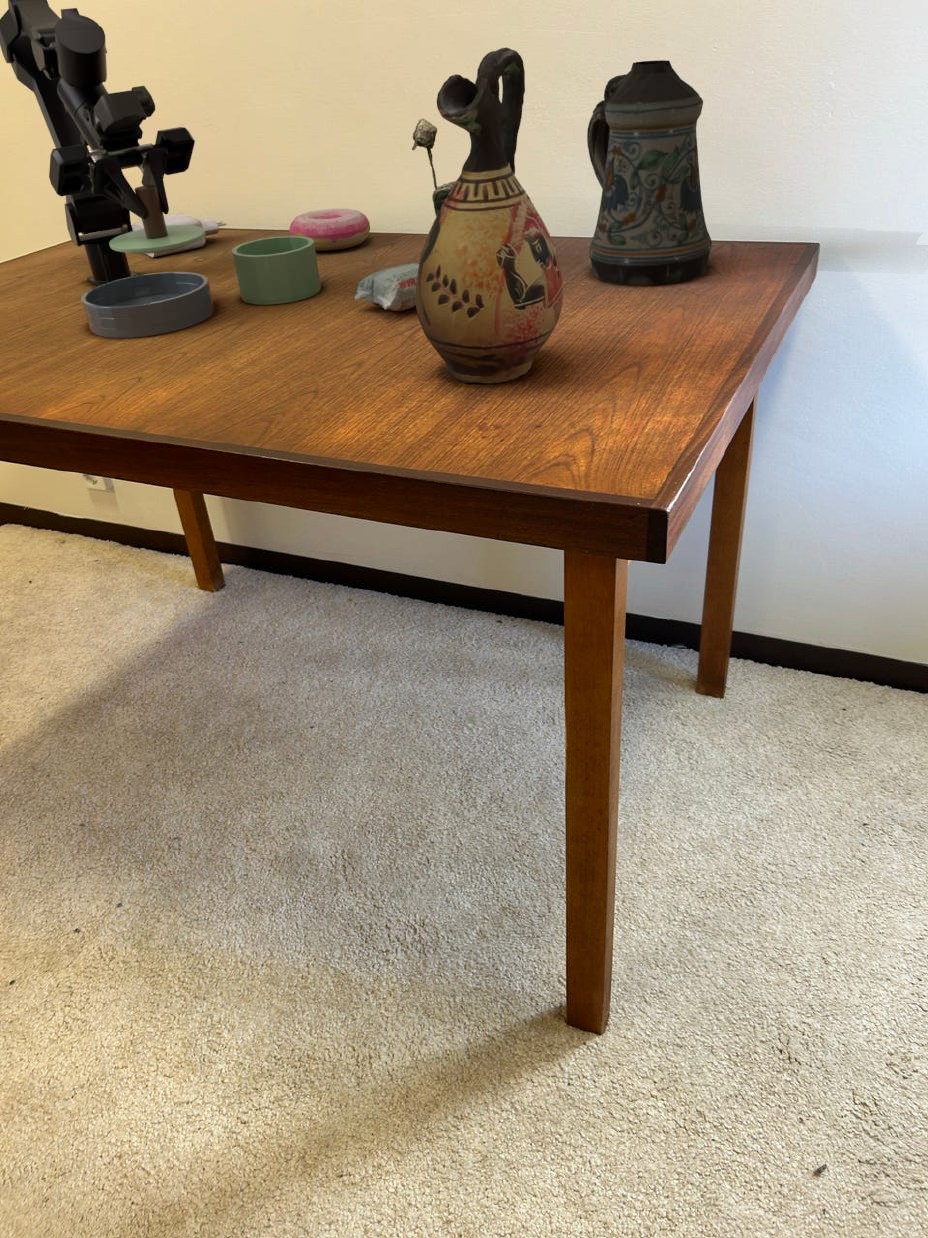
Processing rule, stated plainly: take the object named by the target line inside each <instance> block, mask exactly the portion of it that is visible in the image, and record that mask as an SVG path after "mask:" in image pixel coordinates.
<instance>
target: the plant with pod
mask: <svg viewBox="0 0 928 1238" xmlns="http://www.w3.org/2000/svg"><path fill="white" fill-rule="evenodd" d="M437 133H438V128H437V126H435V125H433V124H432V122H430V121H429V120H426V119H425V118H420V119H418V122H417V123H416V126H415V129H414V131H413V133H412V140H413V141H414V142H413V146H412V148H411V150H412V151H415V150H416V149H417V147H419V148H424V149H426V151H427V156H428V161H429V165H430V167H431V172H432V179H433V185H434V190H433V192H432V195H431V197H432V202H433V208H434V214H435V218H436V217H437V215H438V213H439V211H440V208H441V206H442V205H443V203H444V201H445V199H446V198H447V196H448V194H449V192H450V190H451V188H452V187H453V185H454V184H455V182H456V180H454V181H450V182H447V183H443V184H441V185H440V186H438V185H437V177H436V171H435V168H434V164H433V153H432V149H434V146H435V142H436V137H437Z"/></svg>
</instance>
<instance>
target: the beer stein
mask: <svg viewBox="0 0 928 1238" xmlns="http://www.w3.org/2000/svg"><path fill="white" fill-rule="evenodd" d="M603 91H604V92H603V99H602V100H601V101H599V102H598V103H596V105H595V107H594V109H593V110H592V115H591V118H590V119H589V122H588V126H587V132H586V142H587V149H588V156H589V159H590V164H591V166H592V169H593V172H594V175H595V177H596V179H597V181H598V183H599V185H600V187H601V189H602V191H601V197H600V205H599V209H598V215H597V221H596V225H595V230H594V233H593V236H592V239H591V240H590V244H589V249H588V250H589V251H588V252H589V258H590V262H591V267H592V268H591V269H592V275H593V276H594V277H595V278H597V279H598V280H601V281H603V282H606V283H612V284H617V285H621V286H622V285H624V286H636V287H643V286H644V287H645V286H660V285H661V286H665V285H669V284H675V283H681V282H687V281H690V280H693V279H695V278H698V277H701V276H704V275H705V273H706V270H707V269H706V268H707V265H708V260H709V257H710V253H711V249H712V246H713V241H712V237H711V235H710V233H709V230H708V228H707V224H706V219H705V212H704V206H703V200H702V199H703V198H702V189H701V177H700V164H699V150H698V136H697V125H698V120H699V118H700V116H701V115H702V110H703V107H704V100H703V98H702V97H701V96H700V94H699V93H698V92H697V90H695V89H694V88H693V86H691V85H690V84H689V83H687V82H686V81H685V80H683V79H682V78H681V77H680V76H679V74H678V73H677V72H676V70H674V68H673V66H672V63H671V61H670V60H665V59H662V60H659V59H658V60H644V61H636V62H632V65H631V69H630V71H629V72H627V73H626V74H620V75H619V74H618V75H616V76H614V77H612V78H610V79H609V80H608V81H607V83H606V85H605V89H604V90H603Z"/></svg>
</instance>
